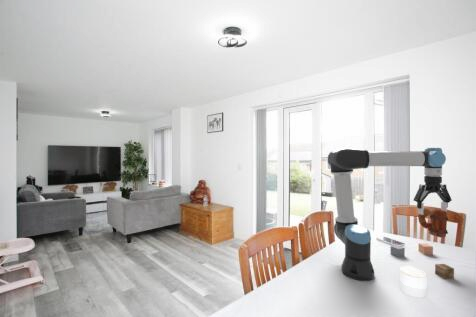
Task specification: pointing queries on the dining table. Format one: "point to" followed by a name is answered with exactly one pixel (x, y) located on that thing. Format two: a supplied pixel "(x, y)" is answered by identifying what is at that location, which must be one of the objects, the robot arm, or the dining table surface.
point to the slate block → (397, 251)
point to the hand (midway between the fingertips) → (432, 214)
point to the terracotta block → (425, 249)
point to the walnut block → (444, 271)
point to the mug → (434, 222)
